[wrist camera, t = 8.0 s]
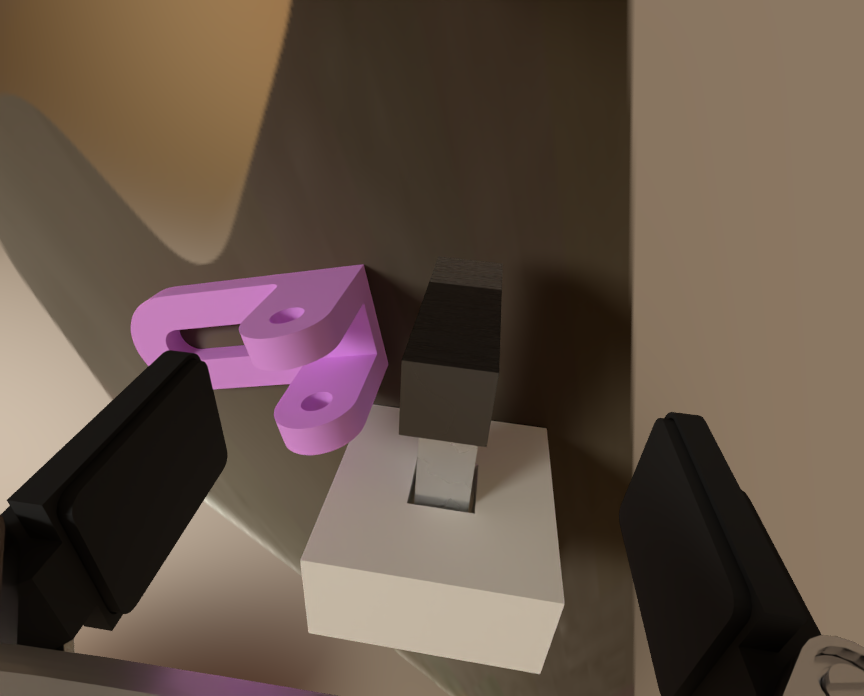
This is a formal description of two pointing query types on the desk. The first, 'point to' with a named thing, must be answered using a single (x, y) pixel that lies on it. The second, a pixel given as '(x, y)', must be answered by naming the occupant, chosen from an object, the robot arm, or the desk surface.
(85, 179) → the desk surface
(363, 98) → the desk surface
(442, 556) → the block
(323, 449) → the bracket
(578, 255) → the desk surface
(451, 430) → the grey upright plate
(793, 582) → the robot arm
